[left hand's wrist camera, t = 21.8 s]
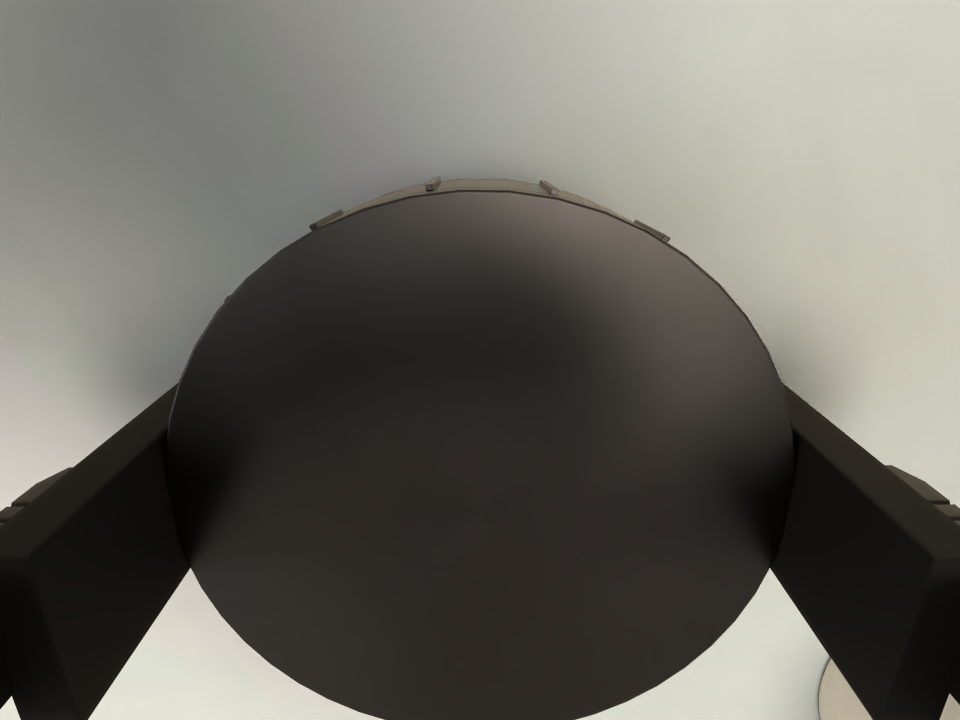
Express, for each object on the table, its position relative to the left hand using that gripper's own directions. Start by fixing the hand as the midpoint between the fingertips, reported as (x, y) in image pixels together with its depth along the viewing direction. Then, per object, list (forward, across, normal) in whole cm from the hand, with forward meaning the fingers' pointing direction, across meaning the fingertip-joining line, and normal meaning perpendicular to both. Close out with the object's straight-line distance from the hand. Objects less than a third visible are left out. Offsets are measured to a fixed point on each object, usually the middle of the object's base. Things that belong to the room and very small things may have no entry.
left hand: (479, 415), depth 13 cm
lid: (-3, 0, 0) cm, 3 cm away
